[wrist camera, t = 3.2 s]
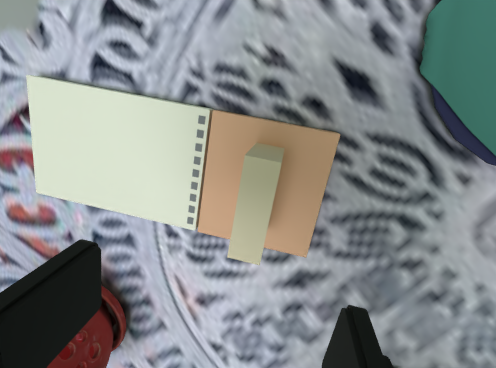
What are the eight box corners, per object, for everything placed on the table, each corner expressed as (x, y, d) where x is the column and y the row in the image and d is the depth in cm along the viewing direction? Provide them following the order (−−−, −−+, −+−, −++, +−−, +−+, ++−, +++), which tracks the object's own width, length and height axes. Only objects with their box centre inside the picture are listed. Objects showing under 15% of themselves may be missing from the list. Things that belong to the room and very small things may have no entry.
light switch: (337, 132, 24) (356, 145, 17) (305, 250, 27) (309, 300, 20) (217, 109, 25) (187, 113, 18) (202, 225, 28) (172, 265, 21)
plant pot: (28, 276, 35) (-98, 360, 24) (111, 258, 32) (11, 344, 21) (73, 354, 38) (-19, 461, 27) (153, 344, 35) (86, 460, 24)
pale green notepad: (214, 109, 25) (209, 109, 23) (199, 224, 29) (194, 231, 27) (40, 76, 27) (25, 74, 25) (48, 188, 30) (35, 193, 29)
